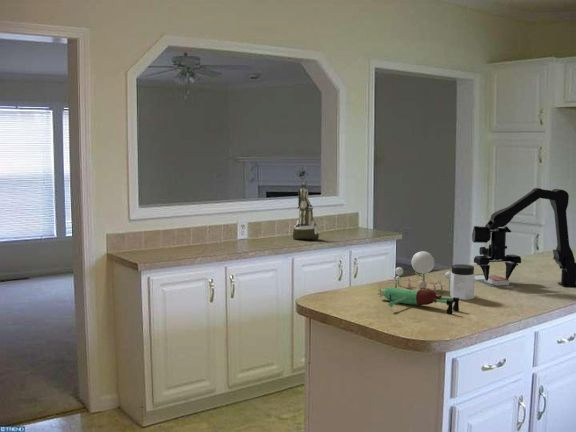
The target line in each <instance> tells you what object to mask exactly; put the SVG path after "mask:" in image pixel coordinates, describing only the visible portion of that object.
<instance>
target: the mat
mask: <svg viewBox="0 0 576 432" xmlns="http://www.w3.org/2000/svg"><path fill="white" fill-rule="evenodd" d="M474 274H475V273H474ZM489 276H493V275H492V274H489ZM484 278H485V277H484V274H483V273H481V274H480V273H479V274H475V280H474V281H476V282H478V283H481V284H483V285H486V286H488V287H491V288H499V287H518V286H519V284H516V283H514V282H510V281H509V285H493V284H491V283H488V282H486V281H484Z"/></svg>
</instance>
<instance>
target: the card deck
mask: <svg viewBox="0 0 576 432" xmlns="http://www.w3.org/2000/svg"><path fill="white" fill-rule="evenodd" d="M484 281H486V280H485V278H484ZM486 282H488V283H491V284H493V285H509V282H510V279H506V277H502V276H499V275H492V276H489V278H488V281H486Z"/></svg>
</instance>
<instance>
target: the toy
mask: <svg viewBox="0 0 576 432" xmlns="http://www.w3.org/2000/svg"><path fill="white" fill-rule="evenodd" d="M377 291H378V293H377V296H378V297H379V298H382V297H384V298H385V299H386V300H388V301H387V302H388V306H389V307H390V308H392V307H394V305H395V304H405V305H417V306H427V305H430V304H433V303H435V304H436V303H441V304H443V303H444V304H446V306H448V307H447V309H446V310H445V311H446V313H447V314H448V315H452V314H453V312H459V311H460V307H459V303H460V300H459V298H455V297H453V298H452V297H446V296H445V297H443V296H442V295H437V293H436V292H434V290H432V289H428V288H423V289H422V288H419V289H418V290H416V289H415V290H414V289H412V290H411V289H404V288H398V287H397V288H395V287H393V286H392V287H391V286H389V287H385V289H383V288H382V287H379V289H378V290H377Z"/></svg>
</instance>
